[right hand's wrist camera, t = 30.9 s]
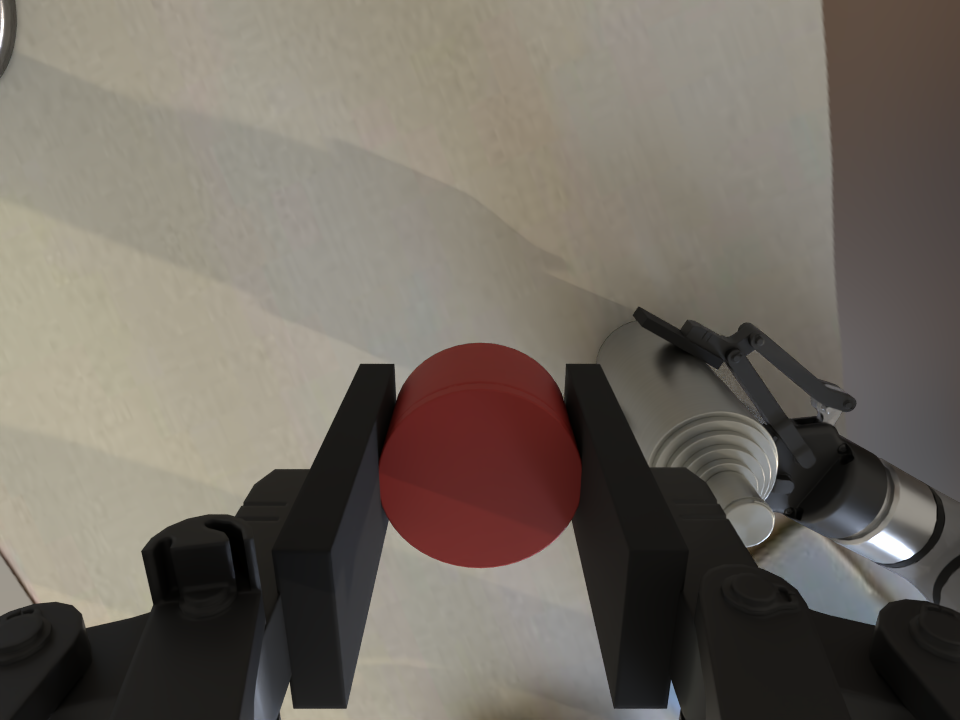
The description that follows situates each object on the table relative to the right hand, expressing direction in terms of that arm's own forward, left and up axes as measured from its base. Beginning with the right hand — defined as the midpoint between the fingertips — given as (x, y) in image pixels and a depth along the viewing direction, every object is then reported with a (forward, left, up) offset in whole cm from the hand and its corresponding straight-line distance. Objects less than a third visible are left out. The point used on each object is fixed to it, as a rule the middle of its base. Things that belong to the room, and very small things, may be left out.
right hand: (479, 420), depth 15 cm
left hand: (+11, +8, -30) cm, 33 cm away
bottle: (+14, +12, -37) cm, 41 cm away
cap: (0, 0, +2) cm, 2 cm away
